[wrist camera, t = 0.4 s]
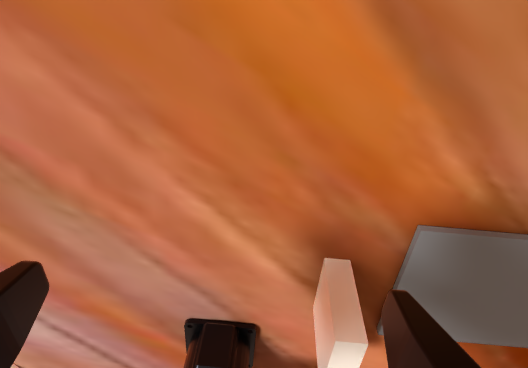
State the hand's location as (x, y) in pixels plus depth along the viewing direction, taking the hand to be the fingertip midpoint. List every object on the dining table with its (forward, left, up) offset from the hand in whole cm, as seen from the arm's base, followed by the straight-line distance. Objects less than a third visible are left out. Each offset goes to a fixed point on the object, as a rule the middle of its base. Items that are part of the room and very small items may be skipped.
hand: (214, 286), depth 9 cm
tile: (-15, -7, -14) cm, 21 cm away
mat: (-14, -19, -14) cm, 27 cm away
